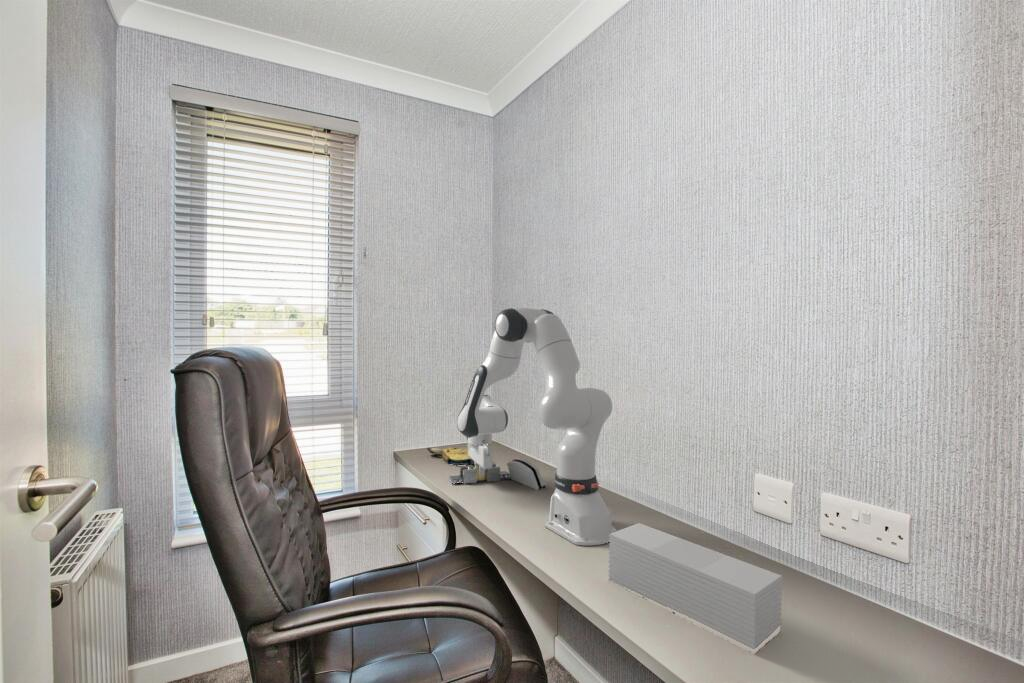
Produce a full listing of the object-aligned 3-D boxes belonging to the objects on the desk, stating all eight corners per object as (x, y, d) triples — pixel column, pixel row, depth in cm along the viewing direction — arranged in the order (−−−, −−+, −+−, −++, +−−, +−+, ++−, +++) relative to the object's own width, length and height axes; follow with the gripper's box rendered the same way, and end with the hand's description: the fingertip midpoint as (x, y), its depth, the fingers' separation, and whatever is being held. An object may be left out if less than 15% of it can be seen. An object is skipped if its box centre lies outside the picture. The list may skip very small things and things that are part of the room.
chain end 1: (476, 483, 179) (476, 469, 179) (452, 485, 176) (453, 471, 176) (472, 478, 185) (472, 465, 185) (449, 480, 182) (449, 467, 182)
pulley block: (440, 438, 226) (490, 448, 208) (441, 450, 227) (491, 461, 209) (417, 448, 215) (468, 459, 197) (419, 461, 216) (469, 473, 198)
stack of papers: (608, 581, 109) (609, 533, 109) (638, 567, 116) (638, 522, 116) (754, 656, 84) (755, 594, 84) (780, 633, 91) (781, 575, 91)
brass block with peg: (495, 478, 184) (496, 466, 184) (464, 481, 180) (465, 468, 179) (493, 477, 186) (493, 464, 186) (463, 480, 182) (463, 467, 182)
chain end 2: (509, 479, 184) (510, 466, 184) (487, 482, 181) (487, 468, 181) (504, 475, 190) (504, 462, 190) (482, 477, 186) (482, 464, 186)
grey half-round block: (547, 487, 175) (540, 462, 173) (537, 494, 173) (530, 469, 171) (520, 476, 189) (514, 452, 187) (511, 482, 187) (504, 458, 185)
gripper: (497, 443, 174) (496, 481, 174) (480, 432, 193) (480, 467, 193) (480, 444, 172) (479, 483, 172) (464, 433, 191) (464, 468, 191)
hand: (479, 474), depth 183 cm, fingers closed on brass block with peg, 2 cm apart
